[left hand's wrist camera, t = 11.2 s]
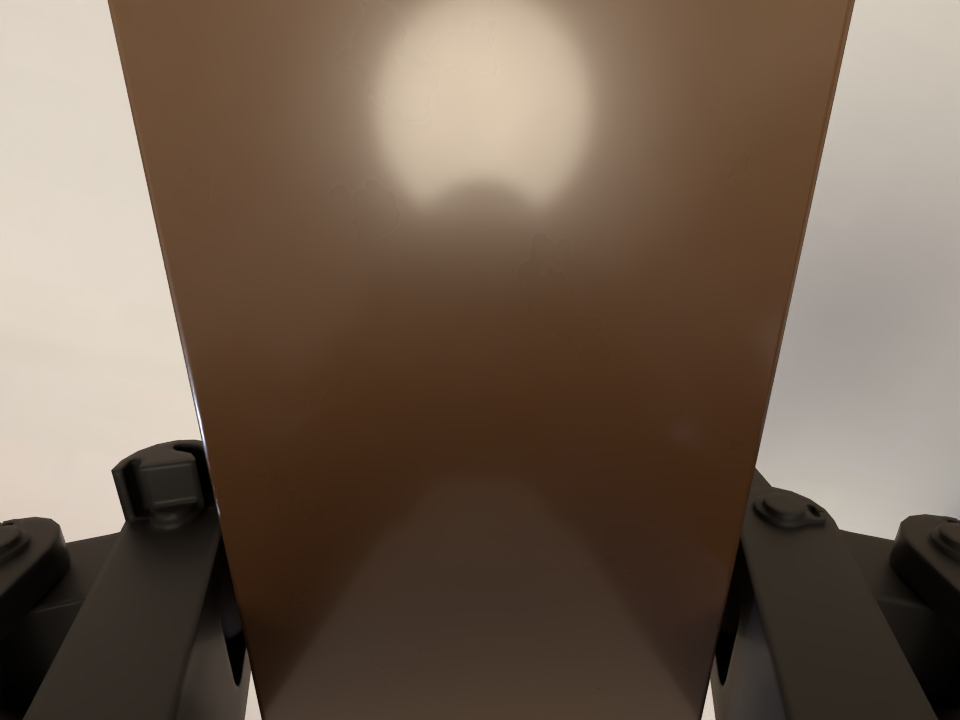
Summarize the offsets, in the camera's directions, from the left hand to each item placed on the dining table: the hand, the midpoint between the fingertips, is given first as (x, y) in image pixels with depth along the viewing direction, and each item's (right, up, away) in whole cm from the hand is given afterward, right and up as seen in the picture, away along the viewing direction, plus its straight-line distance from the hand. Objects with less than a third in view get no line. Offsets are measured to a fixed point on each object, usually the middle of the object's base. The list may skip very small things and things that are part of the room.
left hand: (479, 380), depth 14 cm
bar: (0, +12, -4) cm, 13 cm away
